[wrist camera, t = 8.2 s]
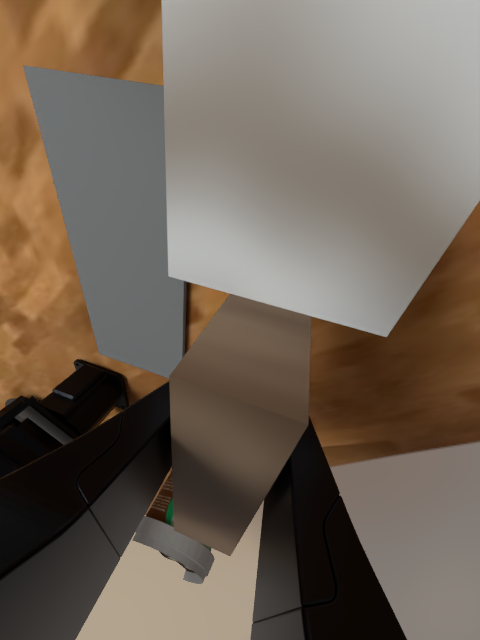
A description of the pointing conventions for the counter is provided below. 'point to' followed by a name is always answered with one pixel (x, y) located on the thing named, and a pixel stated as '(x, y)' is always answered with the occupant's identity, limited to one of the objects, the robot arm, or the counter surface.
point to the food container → (173, 537)
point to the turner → (301, 209)
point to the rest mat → (115, 209)
